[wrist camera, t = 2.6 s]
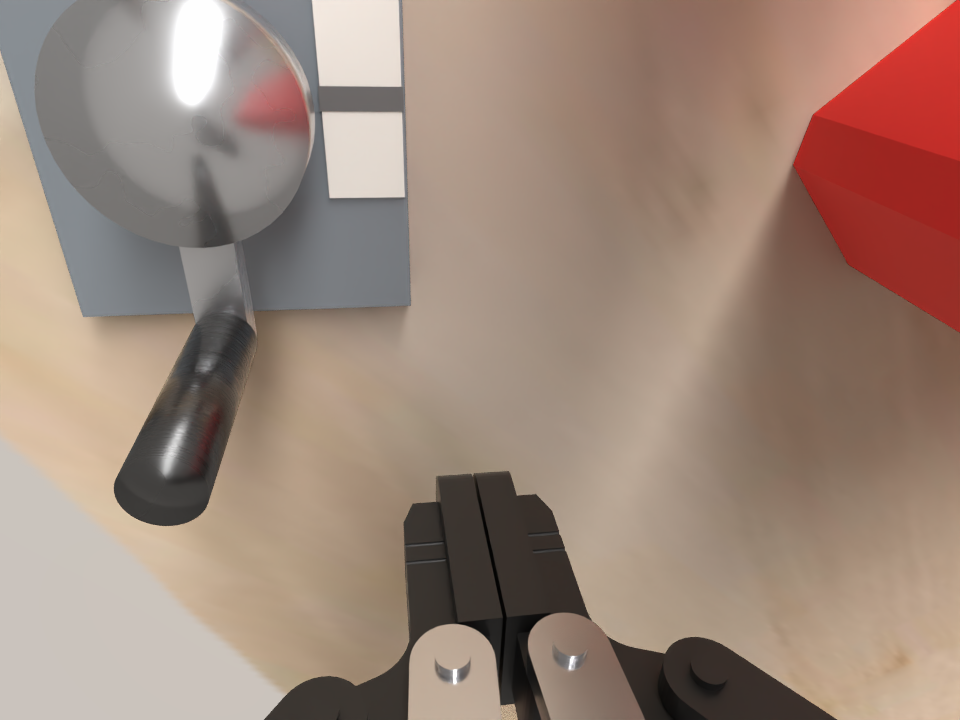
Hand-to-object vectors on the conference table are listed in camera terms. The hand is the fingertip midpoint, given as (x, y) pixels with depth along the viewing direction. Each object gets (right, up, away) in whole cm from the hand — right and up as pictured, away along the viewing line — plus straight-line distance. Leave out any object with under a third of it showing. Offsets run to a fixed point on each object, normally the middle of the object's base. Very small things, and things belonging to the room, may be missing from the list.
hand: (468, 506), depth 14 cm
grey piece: (-7, +9, +4) cm, 12 cm away
